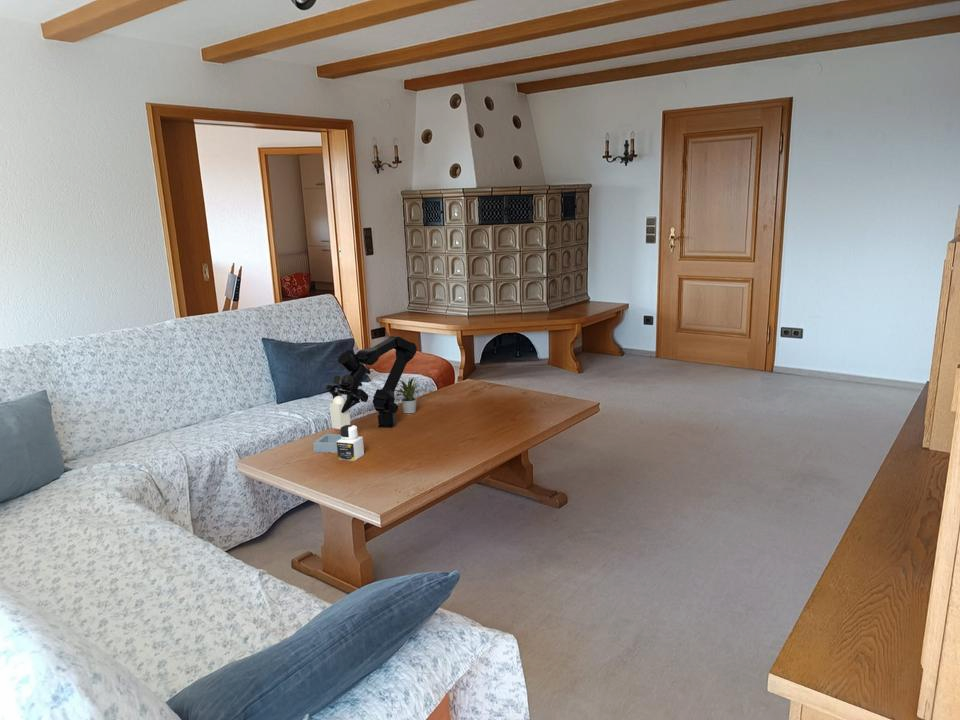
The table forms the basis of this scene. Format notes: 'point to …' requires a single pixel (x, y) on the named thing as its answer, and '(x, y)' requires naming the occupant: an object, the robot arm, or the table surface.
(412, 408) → the house plant
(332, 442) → the blue square ring
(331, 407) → the cream egg block
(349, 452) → the medicine bottle
